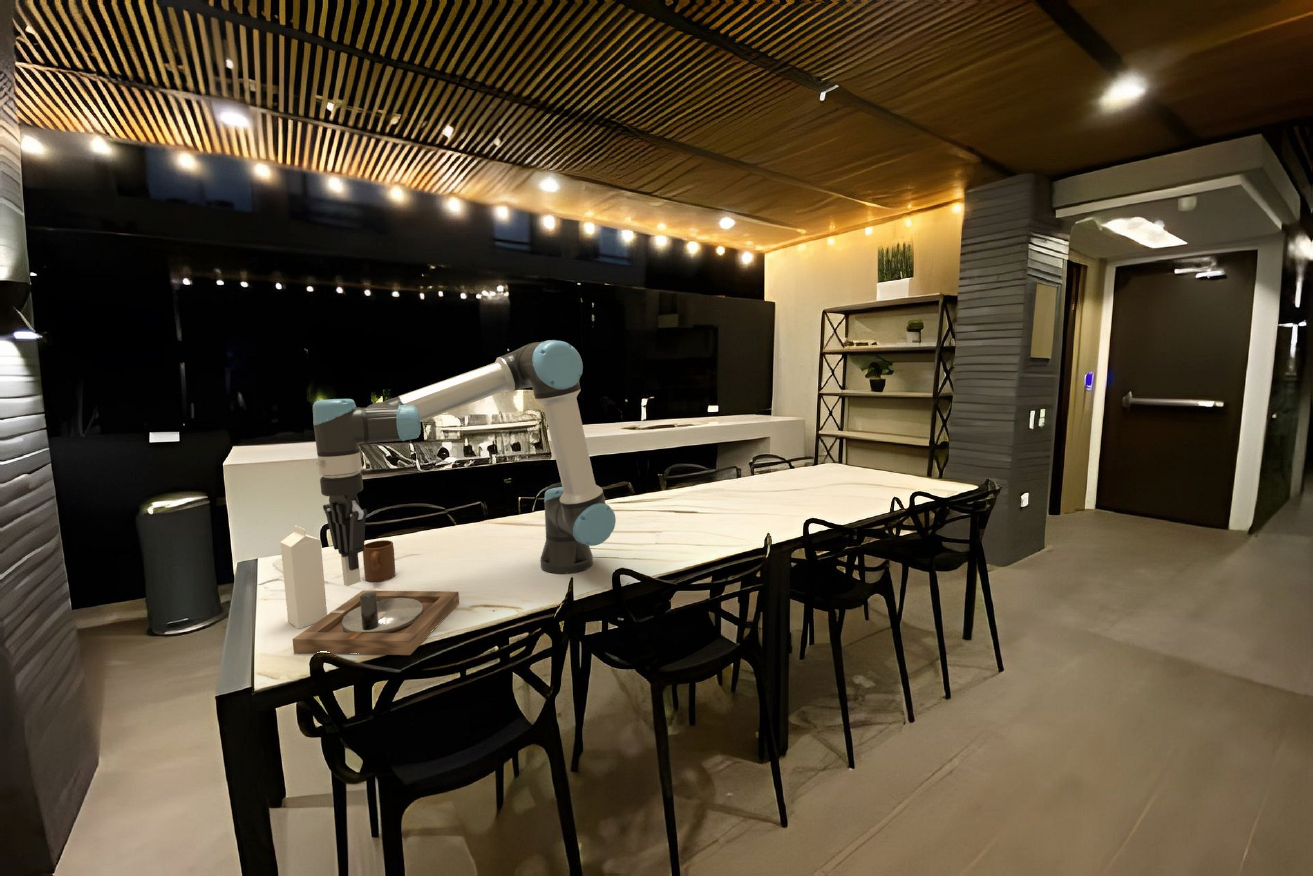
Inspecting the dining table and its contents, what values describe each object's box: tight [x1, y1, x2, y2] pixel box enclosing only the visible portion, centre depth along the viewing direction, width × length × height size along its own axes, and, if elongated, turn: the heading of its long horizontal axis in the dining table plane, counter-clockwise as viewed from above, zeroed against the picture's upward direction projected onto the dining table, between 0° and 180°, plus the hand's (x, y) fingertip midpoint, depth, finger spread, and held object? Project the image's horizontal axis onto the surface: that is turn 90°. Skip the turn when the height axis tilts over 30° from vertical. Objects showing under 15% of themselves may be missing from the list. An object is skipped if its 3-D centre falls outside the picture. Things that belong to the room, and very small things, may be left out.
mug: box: [362, 539, 396, 583], centre depth 145 cm, size 12×8×9 cm, turn 20°
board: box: [292, 589, 460, 656], centre depth 119 cm, size 24×24×3 cm
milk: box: [280, 525, 328, 630], centre depth 120 cm, size 6×6×22 cm
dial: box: [342, 592, 423, 633], centre depth 118 cm, size 16×16×8 cm
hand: (352, 583), depth 113 cm, fingers closed
